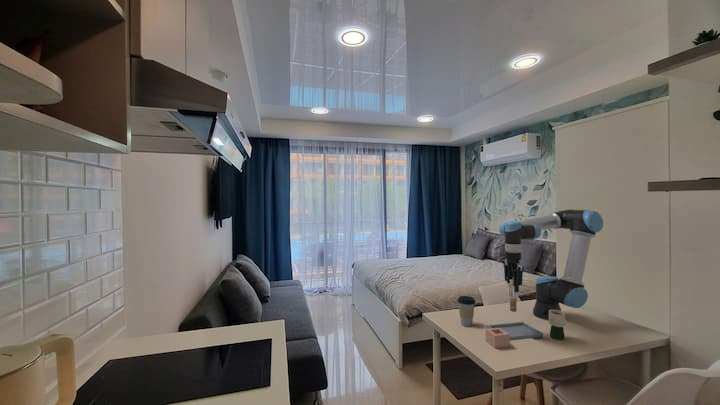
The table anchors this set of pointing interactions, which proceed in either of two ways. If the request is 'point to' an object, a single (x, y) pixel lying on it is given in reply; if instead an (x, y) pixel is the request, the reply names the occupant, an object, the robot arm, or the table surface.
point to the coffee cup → (466, 310)
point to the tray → (518, 330)
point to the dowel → (512, 300)
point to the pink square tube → (497, 338)
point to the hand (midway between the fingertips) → (513, 296)
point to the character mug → (557, 323)
